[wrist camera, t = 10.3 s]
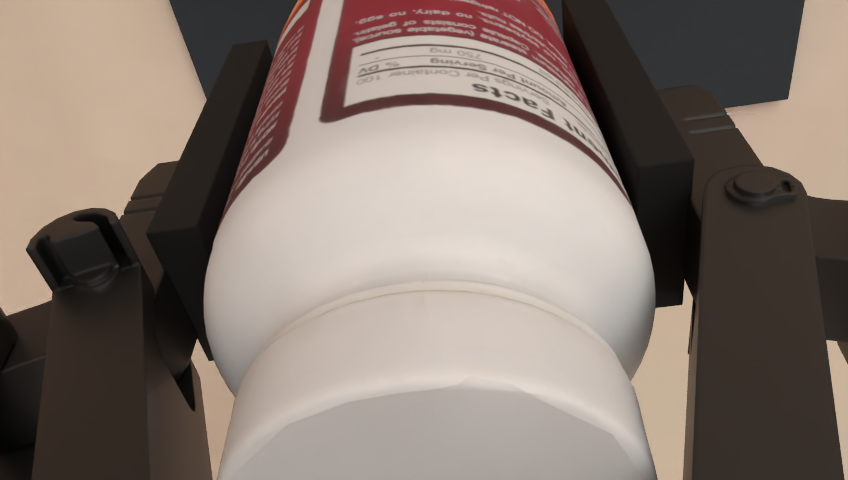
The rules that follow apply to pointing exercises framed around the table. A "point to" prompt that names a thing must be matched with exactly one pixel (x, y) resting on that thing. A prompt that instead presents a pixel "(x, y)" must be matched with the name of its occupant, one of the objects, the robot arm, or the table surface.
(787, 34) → the mat
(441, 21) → the pill bottle
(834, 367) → the table surface
